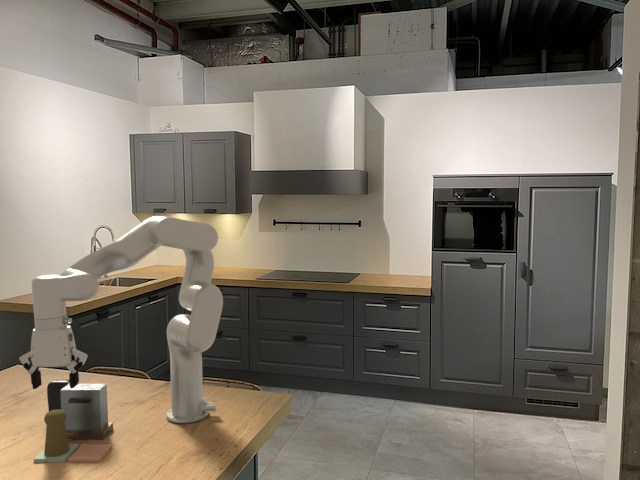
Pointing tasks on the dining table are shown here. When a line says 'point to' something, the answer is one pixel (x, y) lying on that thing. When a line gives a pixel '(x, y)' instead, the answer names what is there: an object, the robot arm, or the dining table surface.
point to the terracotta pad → (90, 453)
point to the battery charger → (55, 393)
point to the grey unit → (86, 411)
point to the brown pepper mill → (55, 434)
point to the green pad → (62, 458)
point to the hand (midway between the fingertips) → (55, 386)
